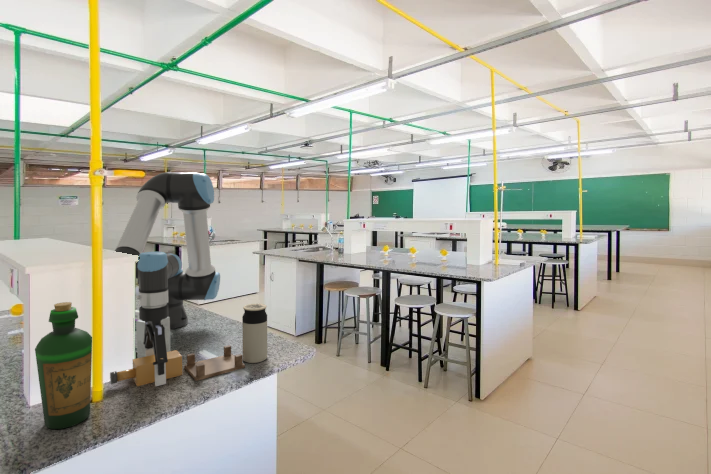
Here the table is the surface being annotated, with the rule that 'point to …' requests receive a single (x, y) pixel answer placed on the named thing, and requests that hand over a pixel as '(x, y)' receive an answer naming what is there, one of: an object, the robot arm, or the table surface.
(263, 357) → the travel mug
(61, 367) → the bottle
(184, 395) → the table surface
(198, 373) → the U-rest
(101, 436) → the table surface
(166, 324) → the small box
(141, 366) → the amber bottle
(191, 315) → the table surface
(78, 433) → the table surface
